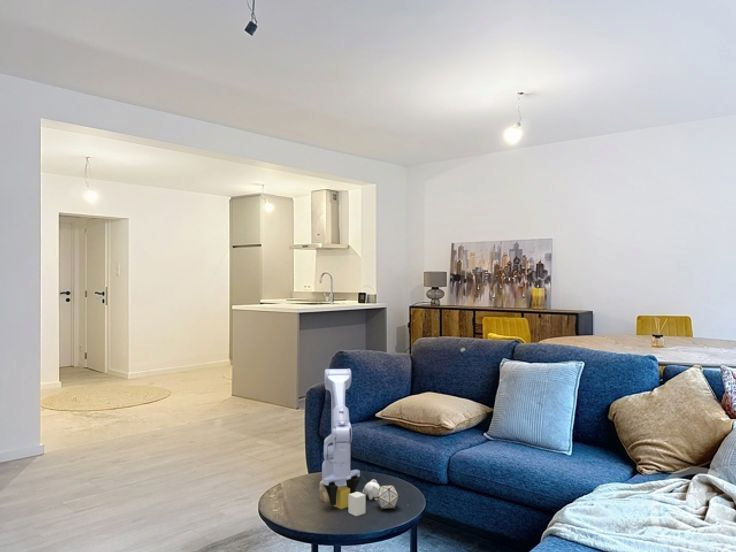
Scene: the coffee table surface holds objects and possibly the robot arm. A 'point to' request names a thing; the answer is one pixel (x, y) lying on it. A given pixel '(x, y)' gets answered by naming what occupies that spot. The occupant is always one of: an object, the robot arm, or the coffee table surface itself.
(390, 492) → the game die
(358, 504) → the off-white bar
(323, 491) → the birch bar
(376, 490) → the elephant figurine
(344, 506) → the mustard bar
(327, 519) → the coffee table surface
